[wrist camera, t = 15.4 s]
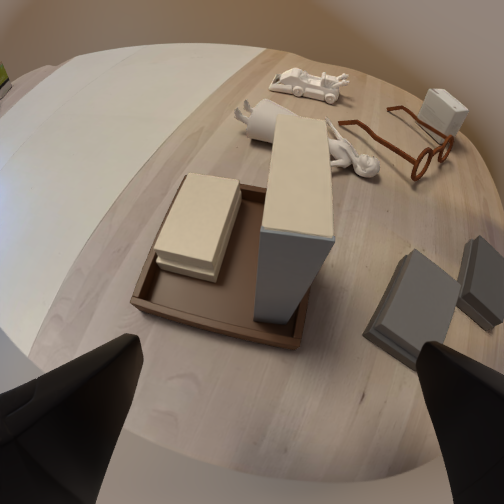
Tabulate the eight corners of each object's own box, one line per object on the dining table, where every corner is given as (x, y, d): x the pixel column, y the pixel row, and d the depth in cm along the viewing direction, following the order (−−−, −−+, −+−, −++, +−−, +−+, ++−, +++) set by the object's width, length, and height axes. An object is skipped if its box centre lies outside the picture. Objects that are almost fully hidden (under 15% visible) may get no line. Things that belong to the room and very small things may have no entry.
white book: (285, 325, 20) (335, 241, 9) (253, 321, 20) (260, 231, 9) (293, 245, 24) (327, 120, 12) (263, 241, 24) (276, 112, 12)
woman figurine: (262, 78, 30) (392, 133, 28) (259, 104, 34) (379, 156, 32) (212, 119, 26) (378, 193, 23) (213, 149, 30) (360, 217, 27)
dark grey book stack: (485, 331, 20) (503, 323, 17) (451, 301, 22) (468, 291, 19) (496, 272, 23) (511, 262, 20) (465, 244, 25) (479, 231, 22)
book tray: (295, 350, 20) (299, 347, 18) (138, 309, 21) (129, 302, 19) (317, 212, 26) (321, 199, 24) (188, 188, 27) (185, 174, 25)
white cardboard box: (453, 140, 34) (470, 110, 28) (438, 144, 33) (457, 111, 27) (430, 118, 37) (444, 88, 30) (413, 121, 36) (428, 87, 29)
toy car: (274, 77, 39) (276, 56, 35) (343, 91, 38) (349, 71, 34) (266, 91, 36) (268, 68, 33) (343, 108, 35) (350, 85, 31)
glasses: (408, 188, 28) (426, 160, 24) (336, 124, 33) (344, 95, 29) (446, 160, 32) (461, 137, 27) (387, 109, 36) (396, 86, 32)
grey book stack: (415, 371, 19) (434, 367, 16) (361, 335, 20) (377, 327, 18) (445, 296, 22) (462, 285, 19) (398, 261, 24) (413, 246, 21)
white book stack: (215, 283, 22) (211, 268, 19) (160, 269, 22) (149, 253, 20) (241, 200, 26) (241, 179, 23) (192, 192, 26) (187, 171, 23)
